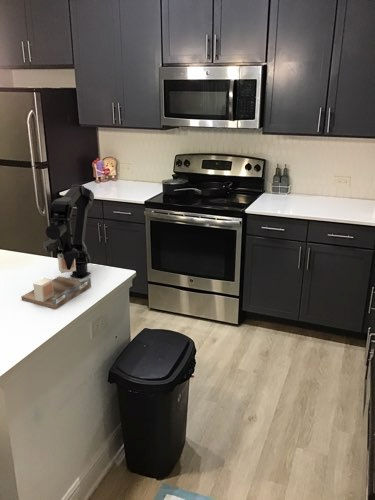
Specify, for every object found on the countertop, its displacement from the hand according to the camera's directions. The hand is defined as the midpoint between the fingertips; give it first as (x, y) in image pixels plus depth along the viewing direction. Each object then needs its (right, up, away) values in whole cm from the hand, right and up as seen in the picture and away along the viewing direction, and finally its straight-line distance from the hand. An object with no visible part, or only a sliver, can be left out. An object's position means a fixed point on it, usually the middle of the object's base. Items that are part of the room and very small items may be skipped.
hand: (67, 267), depth 179 cm
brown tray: (-4, -10, -2) cm, 11 cm away
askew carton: (0, -1, +1) cm, 1 cm away
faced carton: (-6, -12, -9) cm, 16 cm away
